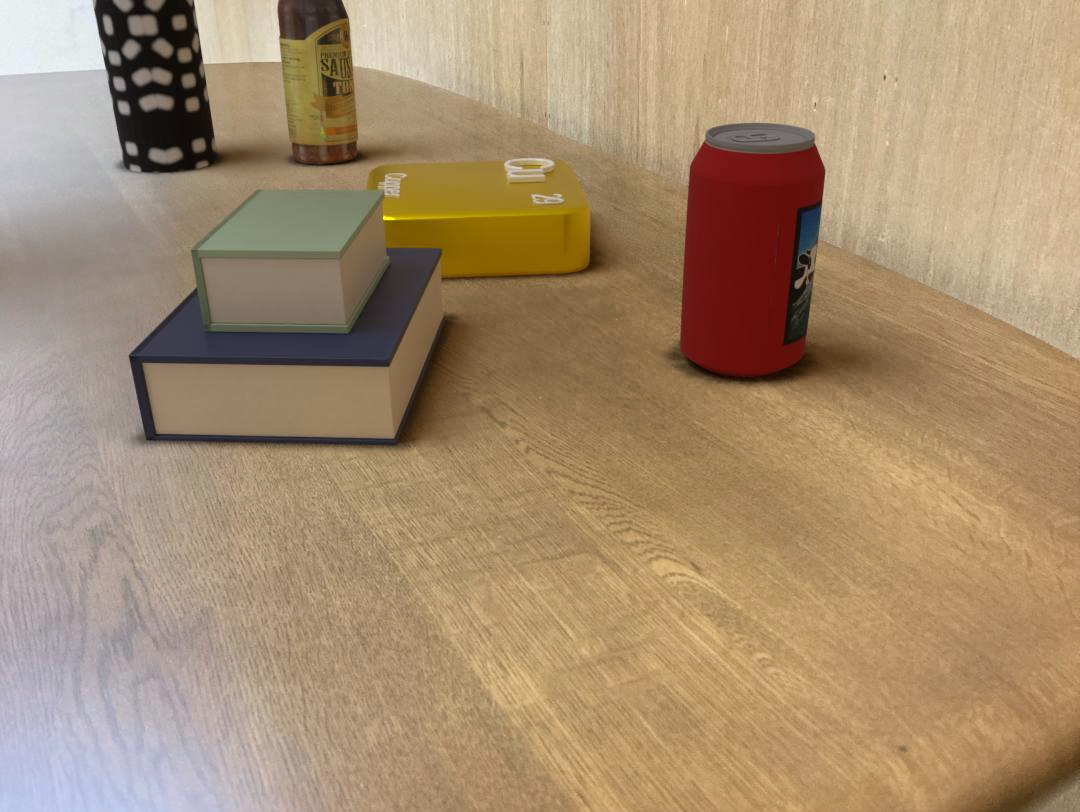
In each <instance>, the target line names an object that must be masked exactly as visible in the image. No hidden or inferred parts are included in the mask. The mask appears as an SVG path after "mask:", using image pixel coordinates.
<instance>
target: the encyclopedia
mask: <svg viewBox="0 0 1080 812" xmlns="http://www.w3.org/2000/svg"><path fill="white" fill-rule="evenodd" d="M386 255H387V256H389V257H390V264H389V266H388V267H387V269H386V271H385V272H384V274H383V276H382V277H381V279H380V281H379V283H378V284H377V286H376V288H375V289H374V291H373V293H372V294H371V296H370V298H369V300H368V301H367V303H366V305H365V306H364V308H363V310H362V312H361V313H360V315H359V317H358V318H357V320H356V322H355V323H354V325H353V327H352V329H351V330H350V332H349V333H348V334H337V333H268V332H205V331H204V325H203V319H202V314H201V308H200V302H199V296H198V290H197V286H195V288H194V289H193V290H192V291H191V292H190V293H189V294H188V295H187V296H186V297H185V298H184V299H183V300H182V301H181V302H180V303H179V304H178V305H177V306H176V307H175V308H174V309H173V310H171V312H170V313H169V314H167V316H166V317H165V318H164V319H163V320H162V321H161V322H160V323H159V324H158V325H157V326H156V327H155V328H154V329H153V330H152V331H151V332H150V333H148V335H147V336H146V337H145V338H144V339H143V340H142V341H141V342H140V343H139V344H138V345H137V346H136V347H135V348H134V349H133V350H132V351H131V352H130V353H129V354H128V360H129V364H130V369H131V374H132V379H133V383H134V388H135V393H136V398H137V404H138V407H139V412H140V417H141V422H142V427H143V428H142V429H143V431H144V436H145V441H163V442H164V441H165V442H166V441H167V442H168V441H169V442H213V443H215V442H216V443H258V444H259V443H261V444H262V443H263V444H264V443H267V444H269V443H270V444H305V445H306V444H309V445H353V446H354V445H356V446H357V445H359V446H361V445H362V446H364V445H365V446H397V444H398V441H399V440H400V437H401V434H402V432H403V430H404V426H405V424H406V421H407V419H408V416H409V414H410V411H411V409H412V406H413V403H414V402H415V398H416V396H417V393H418V391H419V389H420V386H421V383H422V381H423V379H424V376H425V373H426V371H427V368H428V366H429V363H430V362H431V358H432V356H433V353H434V351H435V349H436V346H437V343H438V340H439V338H440V335H441V333H442V330H443V328H444V327H445V326H444V325H445V323H446V321H447V319H446V316H445V315H444V303H443V285H442V278H441V266H440V258H441V256H442V248H386Z"/></svg>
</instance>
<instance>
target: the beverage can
mask: <svg viewBox="0 0 1080 812" xmlns="http://www.w3.org/2000/svg"><path fill="white" fill-rule="evenodd" d="M704 138H705V139H704V140H703V142H702V144H701V145H700V147H699V149H698V151H697V153H696V154H695V156H694V158H693V159H692V161H691V162H690V166H689V175H688V186H687V187H688V188H687V189H688V190H687V201H686V202H687V203H686V218H685V222H686V223H685V236H684V237H685V238H684V250H683V251H684V252H683V256H684V257H683V270H682V271H683V273H682V292H681V311H680V312H681V313H680V316H681V317H680V335H679V337H680V338H679V347H680V350H681V351H680V352H681V353H682V354H683V355H684V356H685V357H686V358H687V359H689V360H690V361H692V362H693V363H695V364H696V365H698V366H700V367H701V368H703V369H705V370H707V371H709V372H712V373H714V374H715V373H716V374H719V375H723V376H729V377H730V376H731V377H739V378H743V377H744V378H752V377H753V378H755V377H763V376H769V375H773V374H776V373H779V372H781V371H783V370H785V369H787V368H789V367H791V366H793V365H795V364H796V363H798V362H799V361H800V360H801V359H802V358H803V356H804V355H805V351H806V350H805V349H806V342H807V341H806V340H807V336H808V335H807V334H808V326H809V319H810V312H811V302H812V296H813V289H814V287H813V286H814V279H815V272H816V264H817V263H816V262H817V254H818V245H819V244H818V243H819V237H820V226H821V217H822V208H823V200H824V189H825V182H826V181H825V180H826V167H825V164H824V162H823V160H822V157H821V155H820V152H819V149H818V147H817V145H816V143H815V141H816V134H815V133H814V132H813V131H812V130H810V129H807V128H804V127H800V126H796V125H790V124H784V123H771V122H738V123H737V122H736V123H727V124H722V125H716V126H713V127H710V128H708V129H707V130H706V132H705V136H704Z"/></svg>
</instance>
